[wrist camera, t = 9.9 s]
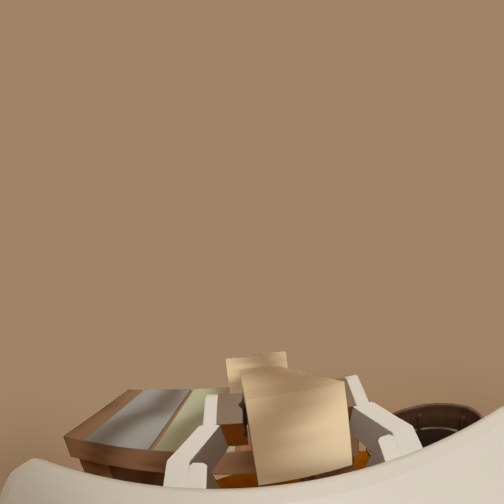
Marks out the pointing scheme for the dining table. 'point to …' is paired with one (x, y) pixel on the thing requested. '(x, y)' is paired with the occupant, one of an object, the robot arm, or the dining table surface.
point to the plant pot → (437, 420)
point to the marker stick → (291, 418)
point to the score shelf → (156, 437)
